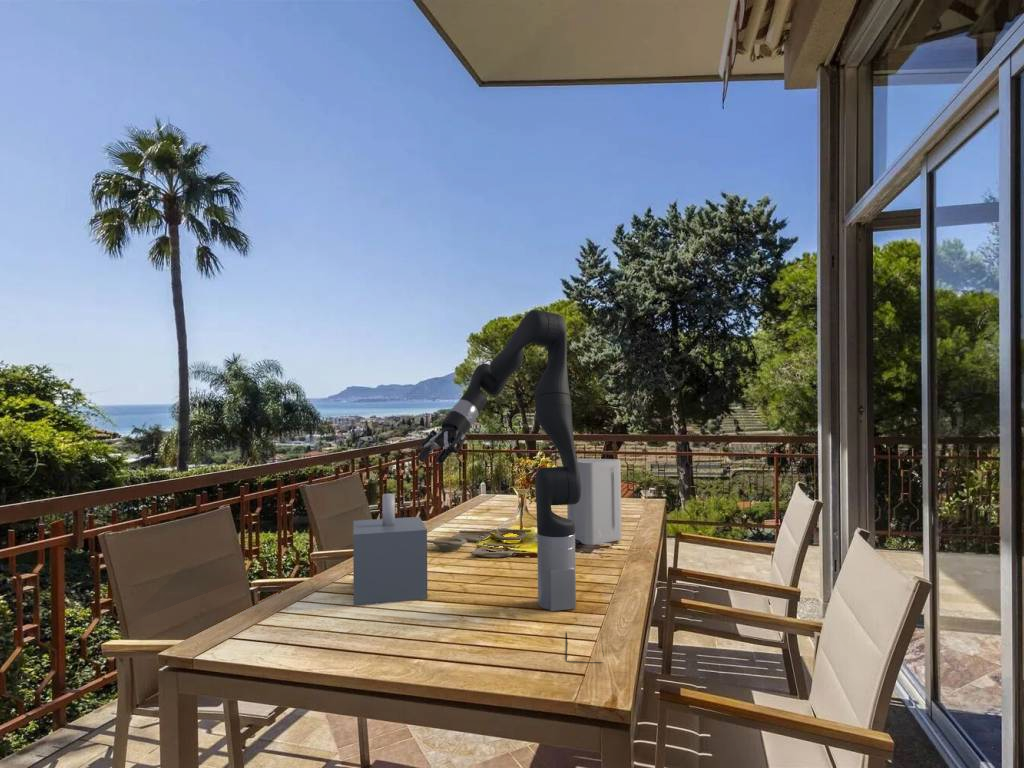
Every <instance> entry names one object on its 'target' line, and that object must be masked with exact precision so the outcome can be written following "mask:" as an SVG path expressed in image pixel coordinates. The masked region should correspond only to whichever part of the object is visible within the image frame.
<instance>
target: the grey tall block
mask: <svg viewBox="0 0 1024 768" xmlns="http://www.w3.org/2000/svg"><path fill="white" fill-rule="evenodd" d="M577 462H578V468H579V474H580V481H581V497H580V500H579V502H578V503H577V504H571V505H566V506H567V507H566V508H567V519H570V520H572V521H573V522H574V524H575V539H577V540H579V541H580V542H581V544H583V545H585V546H595V545H601V544H605V543H611V542H614V541H615V542H616V541H620V540H621V539H622V537H623V536H622V535H623V534H622V487H621V486H622V484H621V483H622V480H621V478H622V476H621V475H622V473H621V459H620V458H619V459H618V458H577ZM580 542H579V543H580Z"/></svg>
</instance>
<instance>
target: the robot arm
mask: <svg viewBox="0 0 1024 768" xmlns="http://www.w3.org/2000/svg"><path fill="white" fill-rule="evenodd" d="M567 338H568V334H567V324H566V321H565V319H564V317H563V316H562V315H561V314H559V313H556V312H551V311H546V310H540V309H532V310H529V312H528V313H527V314H525V315H524V317H523V318H522V319H521V321H520V322H519V324H518V325H517V327H516V329H515V330H514V332H513V334H512V335H511V337H510V339H509V340H508V342H507V344H506V345H505V347H503V349H501V351H499V353H498V354H497V355H496V356H495V357H494V358H493V359H492V360H491V361H490V363H480V364H479V365H477V366H476V368H475V369H474V371H473V373H472V376H471V378H470V382H469V385H468V387H467V389H466V391H465V392H464V393H463V395H462V396H461V397H460V399H459V400H458V401H457V402H456V403H455V404H454V405H453V406H452V408H451V409H450V411H449V412H448V413H447V415H446V416H445V417H444V418H443V420H442V421H441V429H440V430H439V431H438V432H436V430H434V429H433V430H431V431H430V433H429V434H428V435H427V436H426V437H425V439H424V440H423V441H422V443H421V444H420V445H421V447H422V450H421V451H420V452H419V454H418V456H417V460H418V461H419V462H420V463H424V462H425V461H426V459H427V458H428V456H429V455H430V454H431V452H433V451H434V450H438V449H440V448H443V447H444V448H443V449H442V450H441V451H440V453H439V454H438V455H437V457H436V458H435V459H436V462H437V464H439V465H443V464H444V463H445V461H446V460H447V458H448V457H449V456H450V455H452V454H453V453H454V454H457V453H458V452H459V451H460V449H461V448H462V447H463V445H464V443H465V441H466V440H467V436H466V434H467V433H468V431H469V430H470V428H471V427H472V425H473V424H475V423H474V422H475V421H476V419H477V417H478V416H479V414H480V413H481V411H482V410H483V409H484V407H485V406H486V404H487V401H488V399H487V396H486V394H485V393H487V395H490V396H492V397H495V396H499V395H500V394H501V393H502V392H503V391H504V389H505V387H506V386H507V385H506V384H507V383H508V380H509V379H510V377H511V376H512V375H513V374H514V373H515V372H516V371H517V370H518V369H520V367H521V365H522V363H523V361H524V348H525V347H527V346H529V345H530V344H532V345H534V346H540V347H546V349H547V364H546V367H545V370H544V372H543V374H542V375H541V376H540V379H539V381H538V383H537V385H536V386H535V389H534V394H533V395H534V397H533V398H534V409H535V412H534V413H535V418H536V420H537V422H538V424H539V426H540V428H541V429H542V430H543V431H544V433H545V434H546V436H548V438H549V439H550V441H552V443H553V445H554V446H555V448H556V450H557V451H558V454H559V457H560V460H561V464H562V466H552V467H551V466H549V467H547V466H546V467H545V466H544V467H540V468H538V469H537V471H536V472H535V476H534V488H535V489H534V490H535V491H534V492H535V503H536V504H535V506H536V527H537V528H536V529H537V530H536V531H537V532H536V533H537V534H536V537H537V538H536V539H537V544H536V545H537V546H536V547H537V551H536V553H537V556H536V557H537V604H538V606H539V607H540V608H543V609H545V610H549V611H550V612H557V611H565V610H576V606H577V594H576V593H577V589H576V588H577V586H576V585H577V584H576V574H577V573H576V540H575V524H574V522H573V521H572V520H570V519H568V518H566V517H563V516H560V515H558V514H556V513H555V512H554V511H553V510H552V506H567V505H571V504H577V503H578V502H579V500H580V497H581V481H580V474H579V468H578V462H577V459H578V458H577V453H576V452H577V451H576V445H575V439H574V428H573V427H574V426H573V413H572V412H573V411H572V400H571V394H570V393H571V392H570V386H569V376H568V375H569V374H568V373H569V372H568V359H567V357H568V350H567V349H568V347H567V346H568V345H567V344H568V343H567V341H568V339H567ZM482 390H483V391H484V392H485V393H484V392H483V391H482Z"/></svg>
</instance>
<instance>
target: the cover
mask: <svg viewBox="0 0 1024 768" xmlns="http://www.w3.org/2000/svg"><path fill="white" fill-rule="evenodd" d="M352 527H353V532H352V534H353V535H352V537H353V540H352V541H353V545H352V547H353V548H352V549H353V555H352V556H353V557H352V558H353V563H352V564H353V569H352V570H353V573H352V575H353V580H352V583H353V584H352V585H353V586H352V587H353V607H357V606H356V605H358V606H367V605H366V604H368V605H376V603H379V604H389V602H390V603H400V602H409V601H421V600H428V543H427V540H428V530H427V527H426V525H425V524H424V522H423V520H422V518H421V517H420V516H413V517H410V516H409V517H396V494H395V493H383V494H382V518H375V519H374V518H373V519H360V520H353V526H352Z"/></svg>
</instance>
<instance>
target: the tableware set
mask: <svg viewBox="0 0 1024 768" xmlns="http://www.w3.org/2000/svg"><path fill="white" fill-rule="evenodd" d="M491 533H492V530H487V529H486V530H459V531H458V533H456V534H454V535H451V536H445V537H438V538H435V539H427V544H428V543H429V544H433V545H435V546H437V547H438V549H439V550H440V551H442V552H455V551H458V550H460V549H461V548H462V545H465V544H466V543H467V542H477V543H479V542H478V541H480V542H482V541H481V539H485V538H487V537H488V536H489V534H491ZM508 533H513V534H517V535H519V536H517V537H504V536H503V535H505V534H508ZM527 533H532V529H515V528H514V529H511V528H498V531H497V532H496V533H495V534H494V537H495V538H496V539H499V540H500V539H501V540H520V539H522V540H523V539H525V538H527V537H528V534H527ZM479 536H484V537H482V538H478V537H479ZM484 545H487V546H494V547H499V546H503V547H510V548H513V549H516V548H517V546H516V545H515V544H505V543H502V544H501V543H492V542H482V546H480V547H478V548H475V549H473V550H472V553H471V555H474V556H478V557H482V558H483V557H484V558H491V559H492V558H493V559H494V558H506V557H510V556H513V555H514V554H515V553H514V552H489V551H486V546H484ZM513 553H514V554H513ZM512 554H513V555H512Z"/></svg>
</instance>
